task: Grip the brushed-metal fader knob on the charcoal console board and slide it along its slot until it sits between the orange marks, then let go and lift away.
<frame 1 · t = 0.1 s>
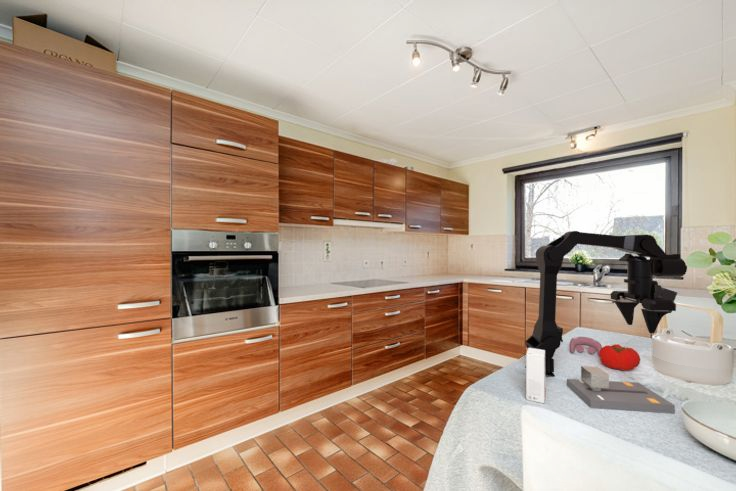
hand: (640, 328, 92), 15 cm above the table, tool pointing down, fingers open, 9 cm apart
skincare box: (536, 397, 81), on the table
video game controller: (585, 354, 113), on the table
fader board: (615, 398, 80), on the table
fader knob: (594, 379, 81), point 5 cm above the table, slide at 1.0 cm
tomato: (618, 367, 100), on the table
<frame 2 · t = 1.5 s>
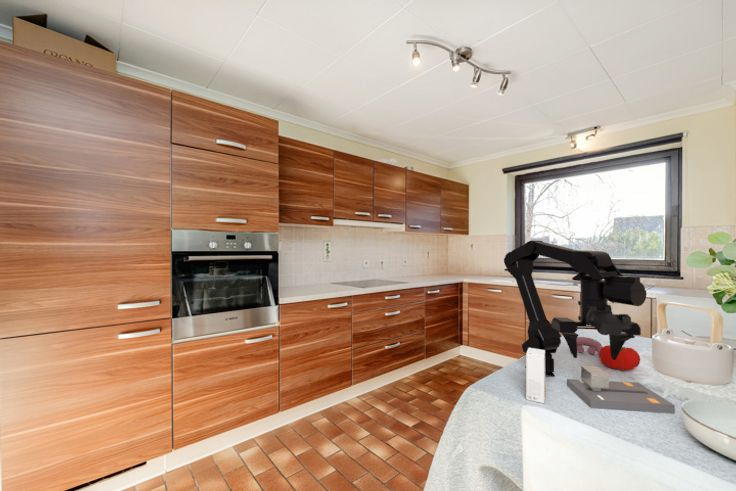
hand: (594, 358, 81), 10 cm above the table, tool pointing down, fingers open, 9 cm apart
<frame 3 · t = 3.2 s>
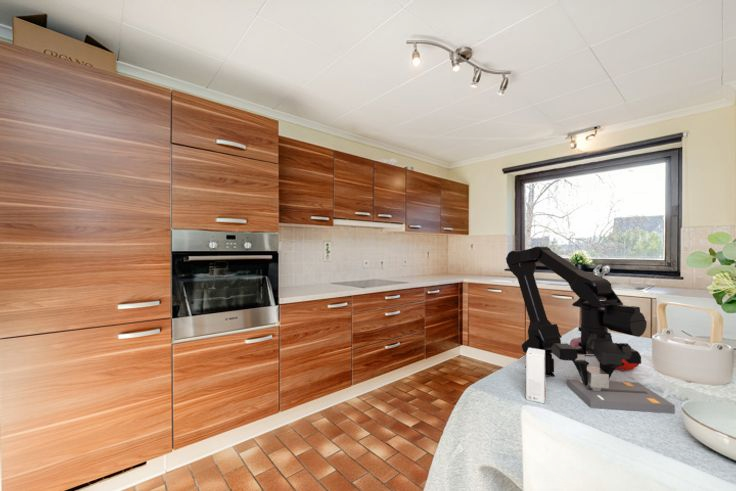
hand: (594, 385, 81), 3 cm above the table, tool pointing down, fingers closed on fader knob, 4 cm apart
fader knob: (594, 379, 81), point 5 cm above the table, slide at 1.0 cm, touching gripper
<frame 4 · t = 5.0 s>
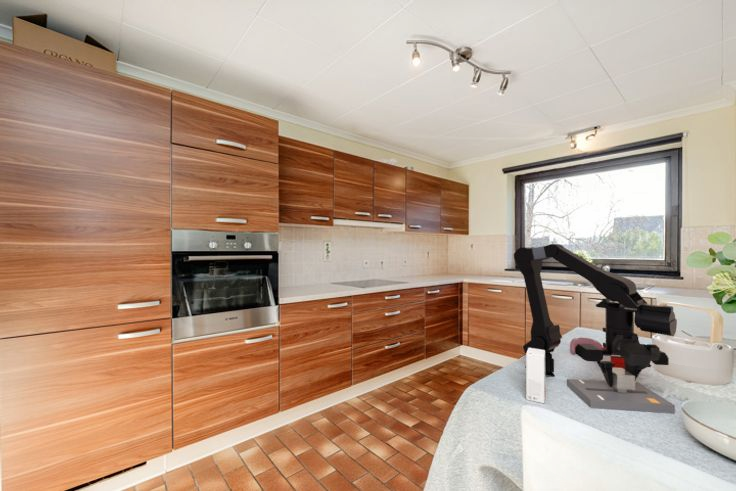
hand: (619, 387, 80), 3 cm above the table, tool pointing down, fingers closed on fader knob, 4 cm apart
fader knob: (619, 380, 80), point 5 cm above the table, slide at 6.9 cm, touching gripper
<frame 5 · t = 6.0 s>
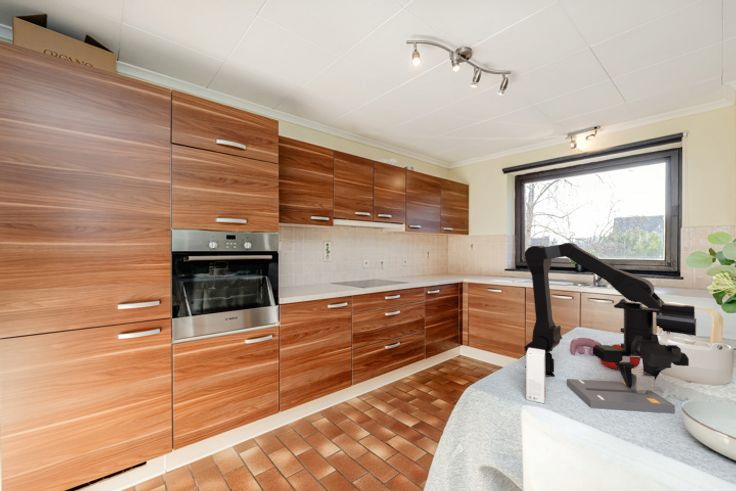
hand: (638, 388, 79), 3 cm above the table, tool pointing down, fingers closed on fader knob, 4 cm apart
fader knob: (638, 381, 79), point 5 cm above the table, slide at 11.3 cm, touching gripper
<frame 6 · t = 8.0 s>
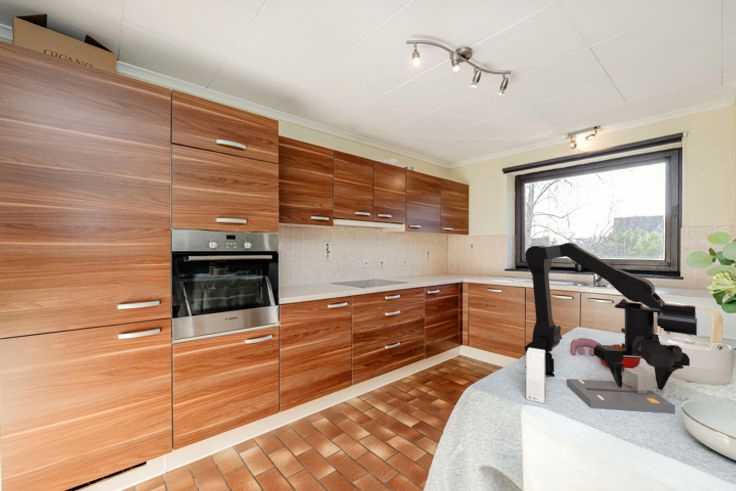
hand: (639, 388, 79), 3 cm above the table, tool pointing down, fingers open, 9 cm apart
fader knob: (639, 382, 79), point 5 cm above the table, slide at 11.5 cm
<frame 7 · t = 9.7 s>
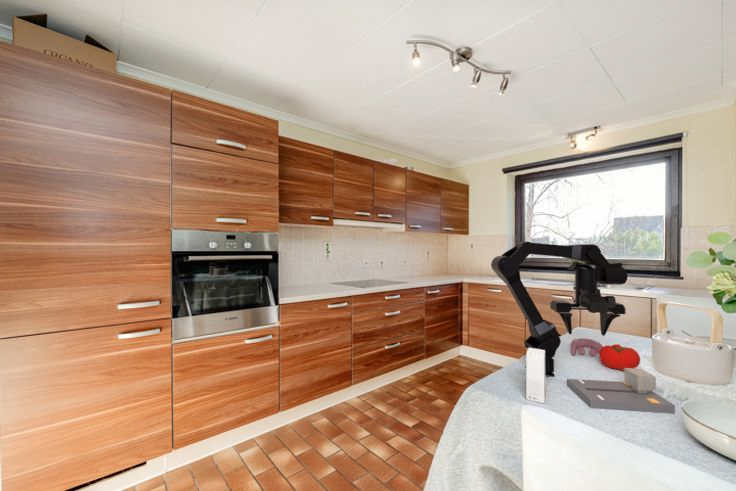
hand: (586, 334, 96), 12 cm above the table, tool pointing down, fingers open, 9 cm apart
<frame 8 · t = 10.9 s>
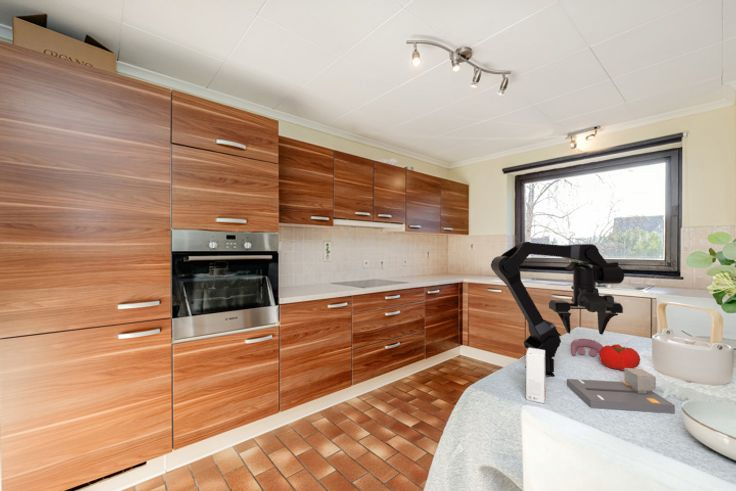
hand: (584, 333, 97), 12 cm above the table, tool pointing down, fingers open, 9 cm apart
at the end: fader knob slide at 11.5 cm; the gripper is holding nothing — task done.
